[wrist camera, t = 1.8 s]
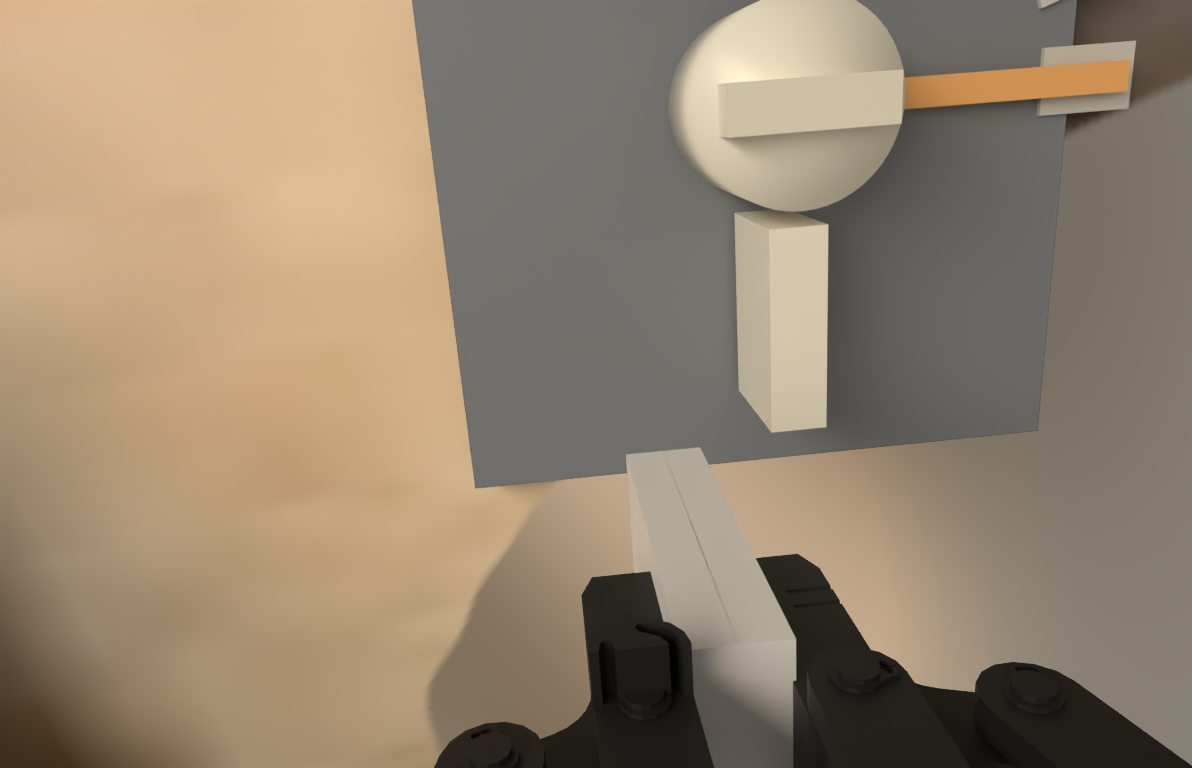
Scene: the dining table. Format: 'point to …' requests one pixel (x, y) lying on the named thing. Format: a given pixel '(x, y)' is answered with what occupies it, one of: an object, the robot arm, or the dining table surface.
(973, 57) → the tuner board
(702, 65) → the dial
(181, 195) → the dining table surface
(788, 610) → the robot arm
